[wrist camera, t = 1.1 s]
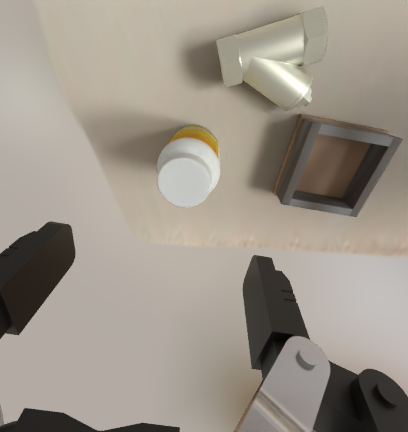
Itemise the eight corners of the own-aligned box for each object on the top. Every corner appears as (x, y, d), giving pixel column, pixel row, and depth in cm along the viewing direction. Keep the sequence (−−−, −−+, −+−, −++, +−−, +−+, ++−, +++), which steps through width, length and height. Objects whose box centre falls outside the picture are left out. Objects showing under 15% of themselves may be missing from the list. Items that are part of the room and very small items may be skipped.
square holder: (383, 129, 23) (406, 137, 21) (343, 204, 28) (357, 218, 25) (300, 114, 23) (311, 119, 20) (272, 192, 27) (278, 205, 25)
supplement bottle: (223, 169, 26) (225, 211, 18) (177, 176, 27) (159, 220, 19) (215, 118, 24) (213, 141, 15) (164, 128, 24) (137, 155, 16)
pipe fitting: (310, 99, 23) (311, 10, 19) (326, 107, 20) (330, 3, 16) (229, 119, 24) (215, 40, 20) (232, 130, 21) (216, 39, 17)
